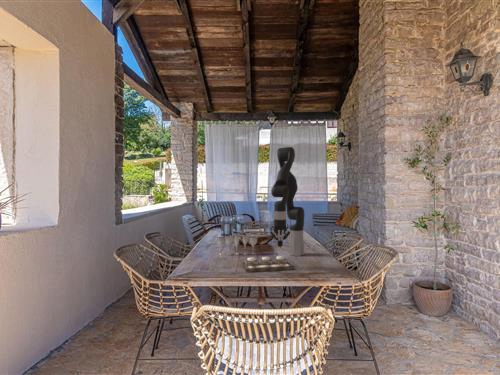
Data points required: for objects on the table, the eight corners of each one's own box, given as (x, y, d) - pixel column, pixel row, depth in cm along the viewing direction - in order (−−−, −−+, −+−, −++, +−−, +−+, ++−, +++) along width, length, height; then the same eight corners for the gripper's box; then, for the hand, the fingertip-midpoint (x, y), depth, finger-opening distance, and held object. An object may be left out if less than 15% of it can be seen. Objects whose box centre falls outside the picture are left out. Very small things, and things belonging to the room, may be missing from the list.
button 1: (254, 260, 230) (254, 257, 230) (256, 262, 225) (256, 259, 225) (246, 260, 229) (246, 257, 229) (248, 262, 224) (248, 259, 224)
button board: (285, 263, 238) (285, 256, 237) (293, 269, 222) (293, 262, 222) (241, 265, 232) (241, 259, 232) (246, 272, 217) (246, 265, 216)
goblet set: (216, 255, 260) (216, 236, 259) (217, 253, 265) (217, 235, 265) (257, 255, 261) (257, 236, 260) (257, 253, 266) (256, 234, 266)
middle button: (269, 259, 232) (269, 256, 232) (271, 261, 227) (271, 258, 227) (261, 260, 231) (261, 256, 231) (263, 261, 226) (262, 258, 226)
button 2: (283, 258, 233) (283, 255, 233) (285, 260, 229) (285, 257, 228) (275, 259, 233) (275, 256, 232) (277, 261, 228) (277, 257, 228)
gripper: (288, 217, 234) (288, 245, 235) (268, 218, 232) (268, 245, 233) (292, 219, 227) (292, 247, 228) (271, 219, 225) (270, 248, 225)
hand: (280, 246), depth 230 cm, fingers closed
